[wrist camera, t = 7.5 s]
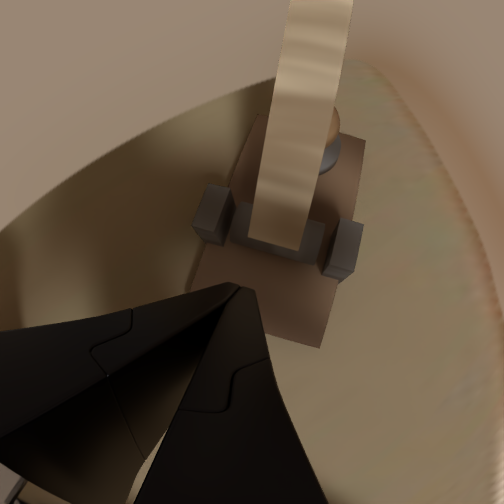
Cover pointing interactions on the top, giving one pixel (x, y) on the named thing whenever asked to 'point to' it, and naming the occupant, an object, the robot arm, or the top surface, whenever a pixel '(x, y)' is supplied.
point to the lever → (297, 133)
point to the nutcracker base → (276, 267)
